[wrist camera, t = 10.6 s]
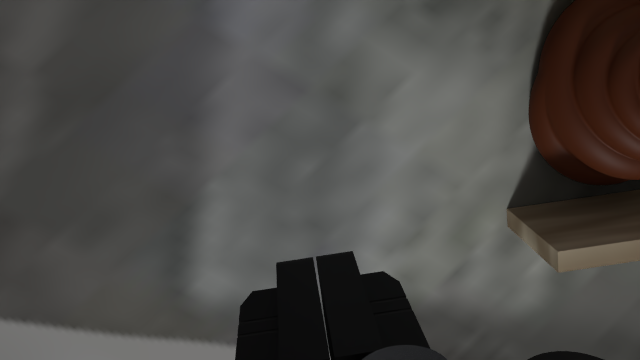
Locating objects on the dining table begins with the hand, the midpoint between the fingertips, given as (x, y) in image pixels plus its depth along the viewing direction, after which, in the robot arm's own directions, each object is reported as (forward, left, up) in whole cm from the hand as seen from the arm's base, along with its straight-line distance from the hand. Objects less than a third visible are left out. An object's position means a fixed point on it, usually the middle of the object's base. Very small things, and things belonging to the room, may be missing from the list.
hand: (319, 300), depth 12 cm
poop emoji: (0, +16, -19) cm, 25 cm away
